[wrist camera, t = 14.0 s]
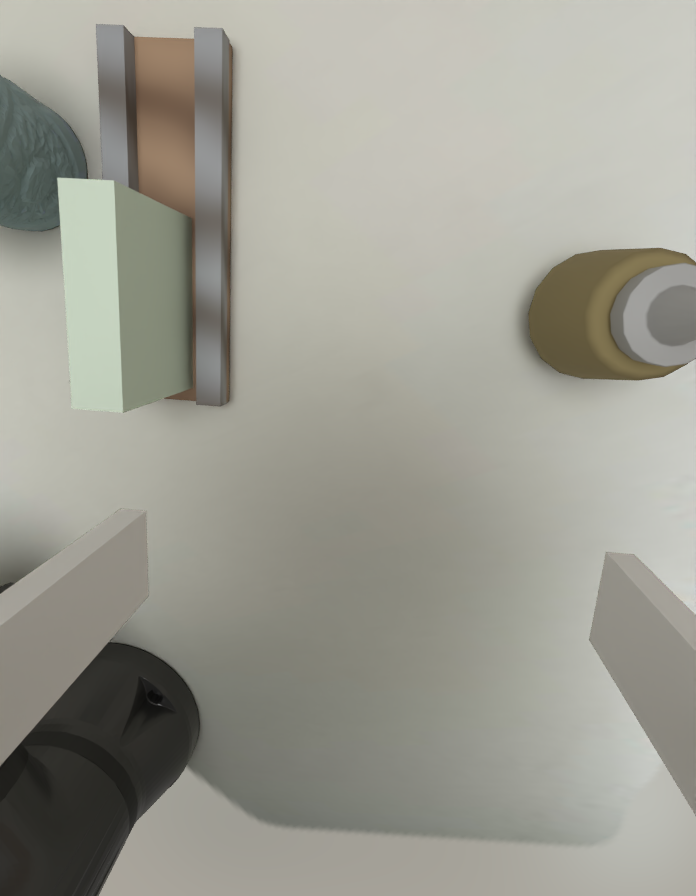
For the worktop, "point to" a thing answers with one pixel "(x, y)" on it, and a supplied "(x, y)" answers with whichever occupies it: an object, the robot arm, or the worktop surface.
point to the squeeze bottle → (617, 314)
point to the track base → (178, 164)
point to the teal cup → (33, 160)
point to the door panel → (125, 295)
